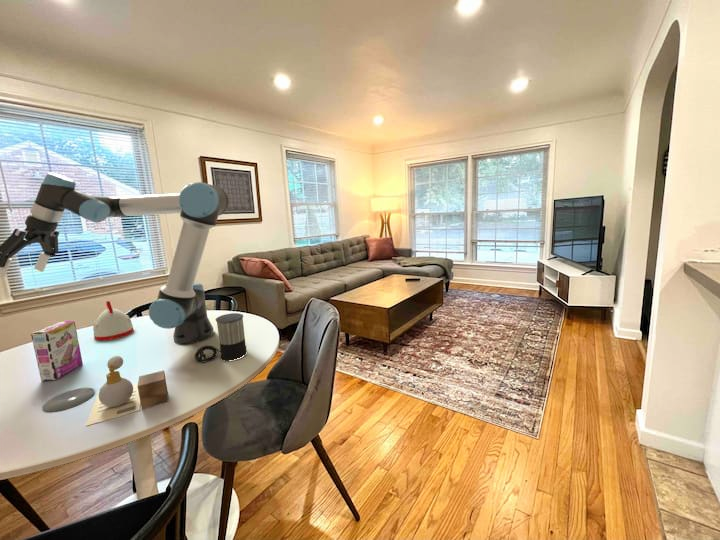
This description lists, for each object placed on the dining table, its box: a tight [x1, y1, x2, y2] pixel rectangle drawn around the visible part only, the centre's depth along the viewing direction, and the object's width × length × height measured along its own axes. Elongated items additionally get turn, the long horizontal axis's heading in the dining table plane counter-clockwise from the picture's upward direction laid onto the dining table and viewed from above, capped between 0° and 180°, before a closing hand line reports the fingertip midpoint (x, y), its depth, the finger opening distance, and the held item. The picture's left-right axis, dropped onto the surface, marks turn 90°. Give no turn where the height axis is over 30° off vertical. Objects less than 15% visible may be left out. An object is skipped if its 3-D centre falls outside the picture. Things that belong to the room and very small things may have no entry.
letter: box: [85, 384, 141, 427], centre depth 87 cm, size 11×16×1 cm
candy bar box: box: [30, 320, 83, 382], centre depth 104 cm, size 11×5×16 cm, turn 5°
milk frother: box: [194, 312, 248, 363], centre depth 111 cm, size 14×16×15 cm
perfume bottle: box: [98, 355, 134, 407], centre depth 86 cm, size 8×10×12 cm
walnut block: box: [137, 370, 169, 411], centre depth 87 cm, size 6×6×7 cm
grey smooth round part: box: [42, 387, 96, 413], centre depth 89 cm, size 11×11×1 cm
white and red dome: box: [92, 300, 134, 341], centre depth 138 cm, size 14×14×15 cm
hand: (20, 272), depth 107 cm, fingers open, 13 cm apart
